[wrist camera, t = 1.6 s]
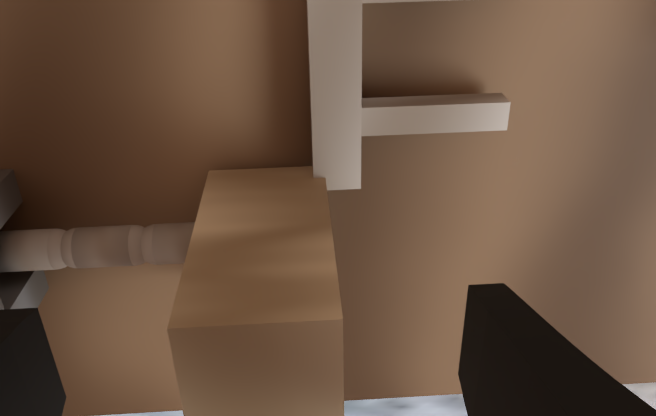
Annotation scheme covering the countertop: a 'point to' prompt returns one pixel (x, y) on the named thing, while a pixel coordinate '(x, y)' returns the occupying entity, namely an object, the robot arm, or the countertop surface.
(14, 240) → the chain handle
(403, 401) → the countertop surface
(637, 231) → the keeper board
